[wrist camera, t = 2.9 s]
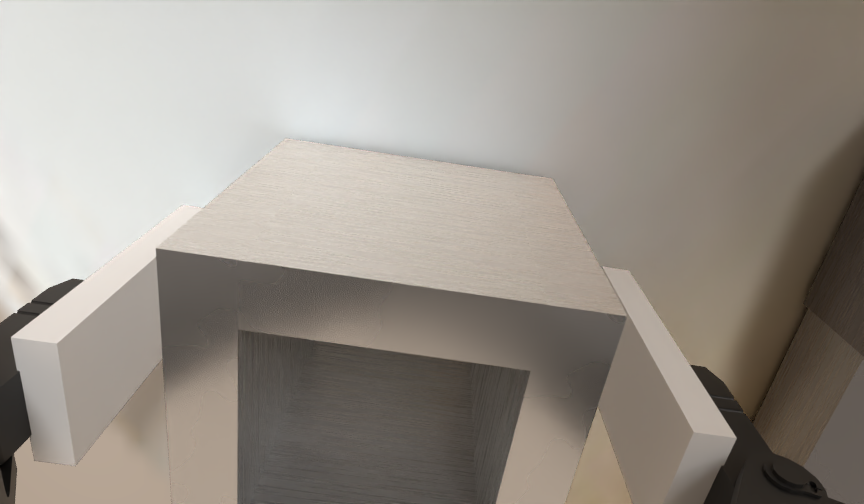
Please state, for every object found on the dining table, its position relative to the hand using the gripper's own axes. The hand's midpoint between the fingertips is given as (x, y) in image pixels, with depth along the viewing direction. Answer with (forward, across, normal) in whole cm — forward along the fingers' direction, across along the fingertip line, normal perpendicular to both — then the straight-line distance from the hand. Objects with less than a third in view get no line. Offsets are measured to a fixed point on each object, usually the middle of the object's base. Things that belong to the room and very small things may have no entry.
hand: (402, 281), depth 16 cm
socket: (0, 0, 0) cm, 0 cm away
